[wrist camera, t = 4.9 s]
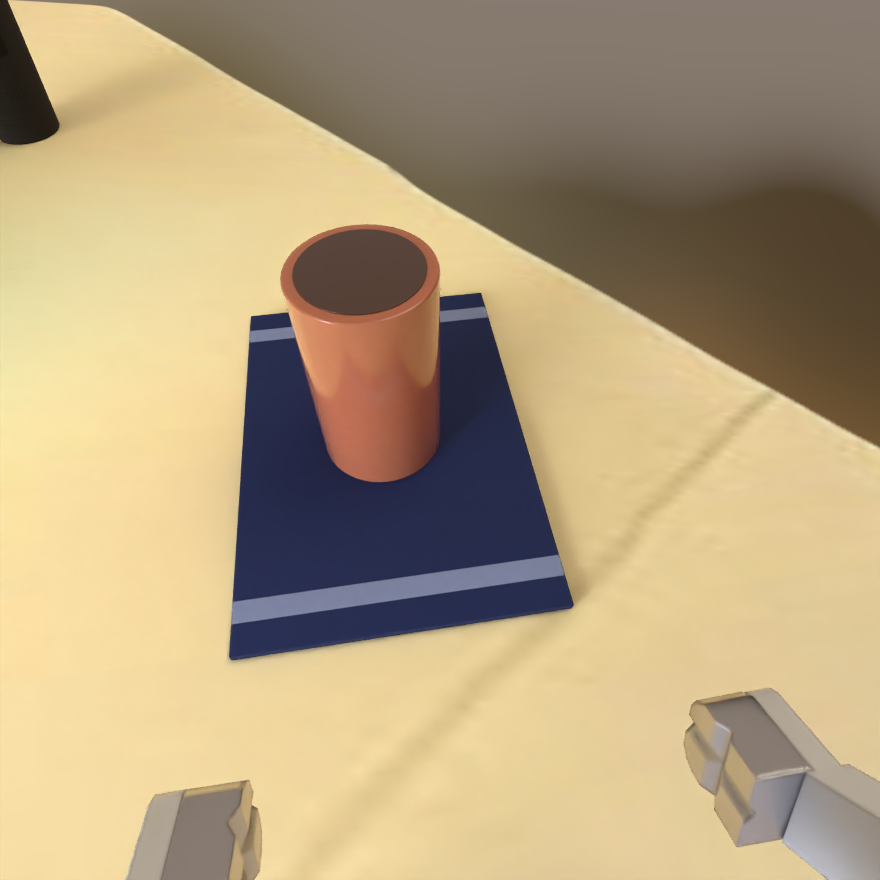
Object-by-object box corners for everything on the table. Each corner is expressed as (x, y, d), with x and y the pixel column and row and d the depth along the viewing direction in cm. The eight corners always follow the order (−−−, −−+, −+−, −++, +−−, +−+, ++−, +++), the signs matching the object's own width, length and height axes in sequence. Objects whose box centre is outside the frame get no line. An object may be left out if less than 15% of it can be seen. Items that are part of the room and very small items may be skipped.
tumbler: (412, 499, 27) (399, 342, 18) (303, 460, 28) (247, 297, 20) (457, 409, 30) (463, 242, 22) (358, 378, 31) (328, 209, 23)
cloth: (572, 608, 24) (574, 604, 24) (231, 660, 23) (228, 657, 22) (480, 297, 36) (481, 292, 35) (252, 321, 34) (250, 315, 34)
